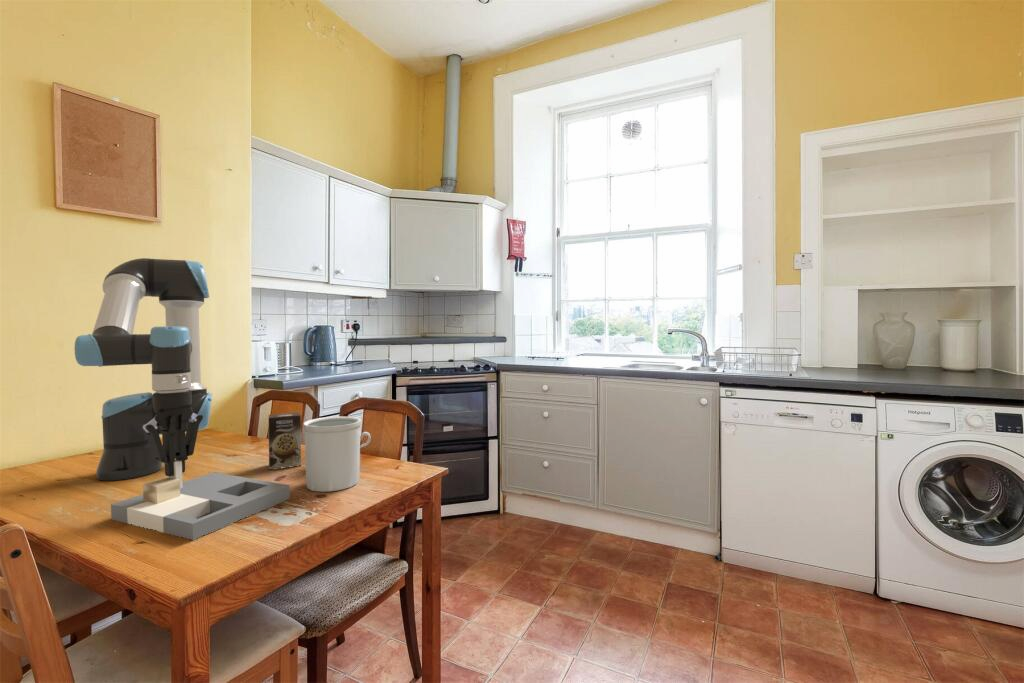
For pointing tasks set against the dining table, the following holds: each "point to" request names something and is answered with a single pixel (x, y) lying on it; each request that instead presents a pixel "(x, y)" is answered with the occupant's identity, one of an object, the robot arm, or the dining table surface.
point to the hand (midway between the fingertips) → (175, 487)
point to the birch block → (161, 490)
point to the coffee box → (284, 440)
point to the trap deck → (202, 505)
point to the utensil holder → (332, 453)
